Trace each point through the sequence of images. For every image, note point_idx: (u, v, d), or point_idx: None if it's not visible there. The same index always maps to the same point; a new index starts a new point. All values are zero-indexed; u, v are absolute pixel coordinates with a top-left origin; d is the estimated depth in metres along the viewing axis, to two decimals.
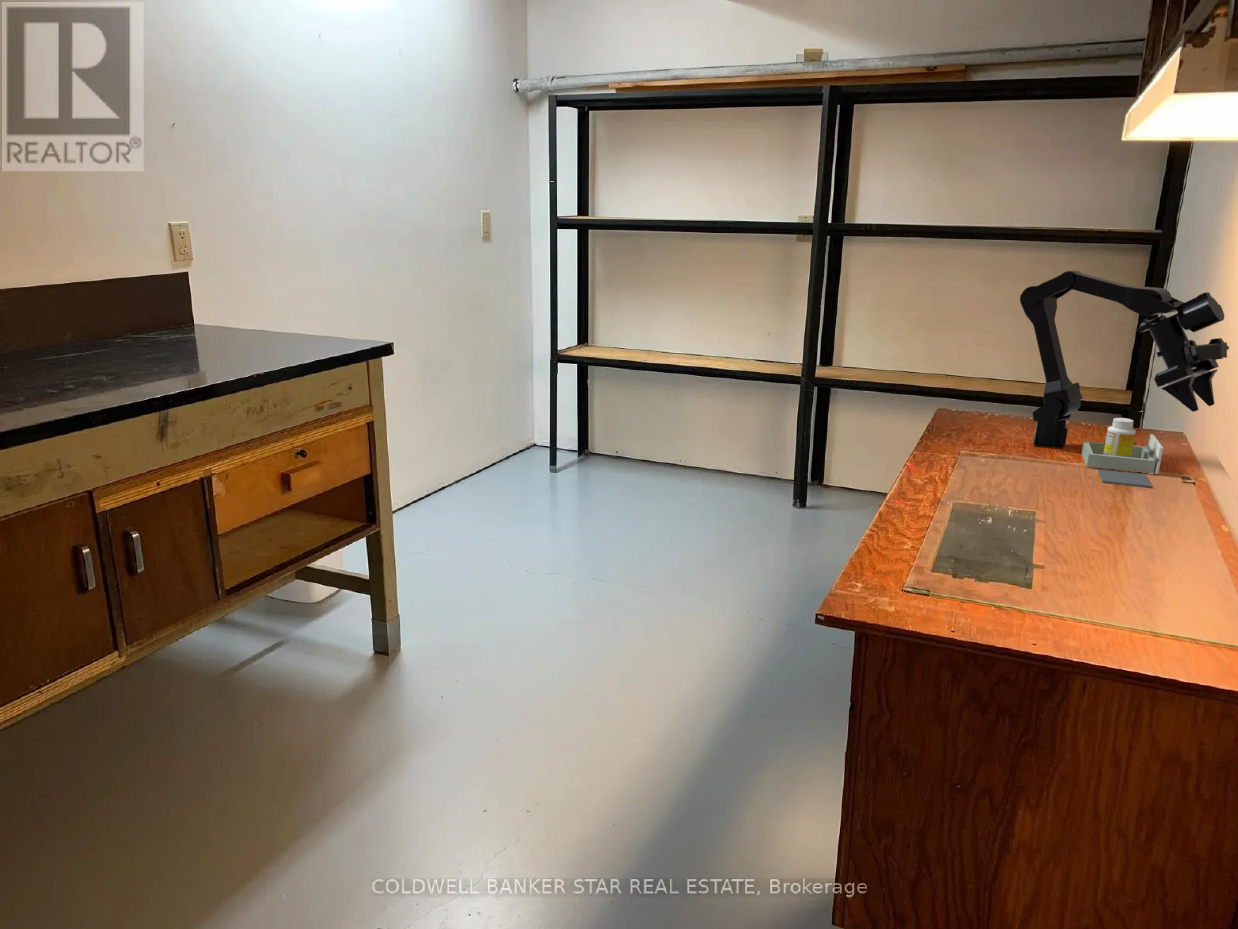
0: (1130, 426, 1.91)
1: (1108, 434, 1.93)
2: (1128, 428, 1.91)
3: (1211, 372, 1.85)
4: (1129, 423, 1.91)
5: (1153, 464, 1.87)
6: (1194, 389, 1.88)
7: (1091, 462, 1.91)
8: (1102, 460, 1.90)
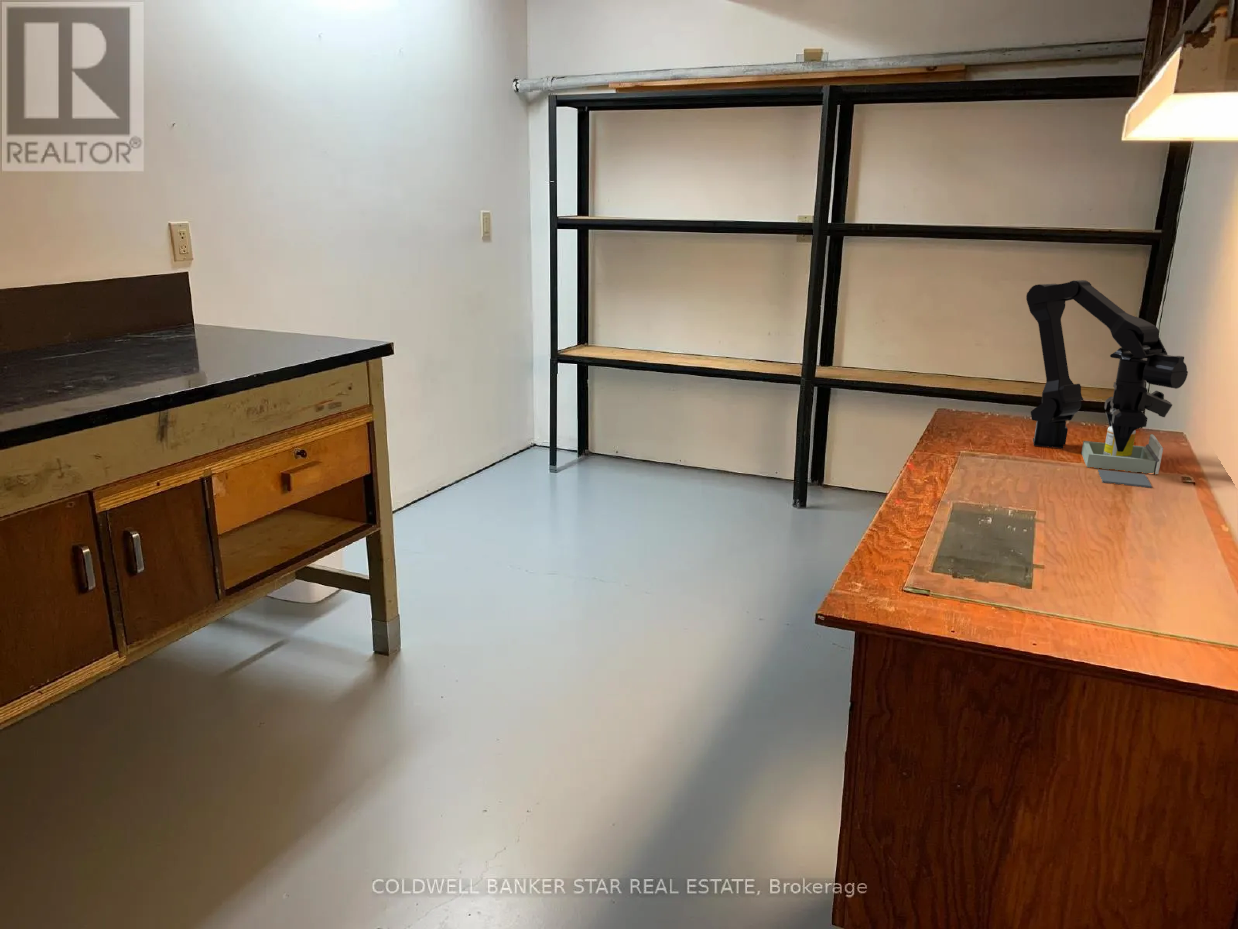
0: None
1: (1108, 434, 1.93)
2: None
3: None
4: None
5: (1153, 464, 1.87)
6: (1111, 425, 1.96)
7: (1091, 462, 1.91)
8: (1102, 460, 1.90)
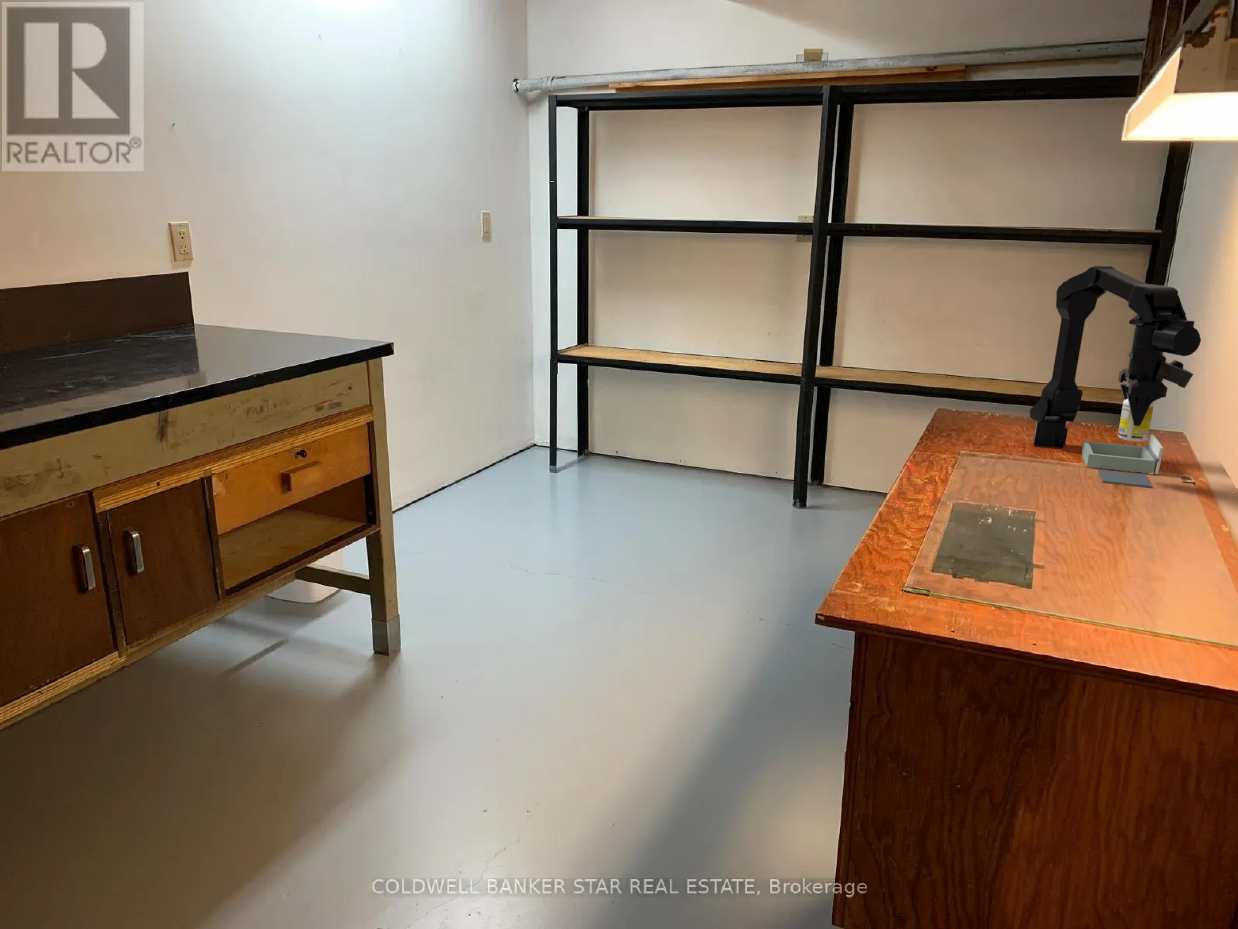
0: None
1: (1124, 407, 1.80)
2: None
3: None
4: None
5: (1153, 464, 1.87)
6: (1126, 398, 1.83)
7: (1091, 462, 1.91)
8: (1102, 460, 1.90)
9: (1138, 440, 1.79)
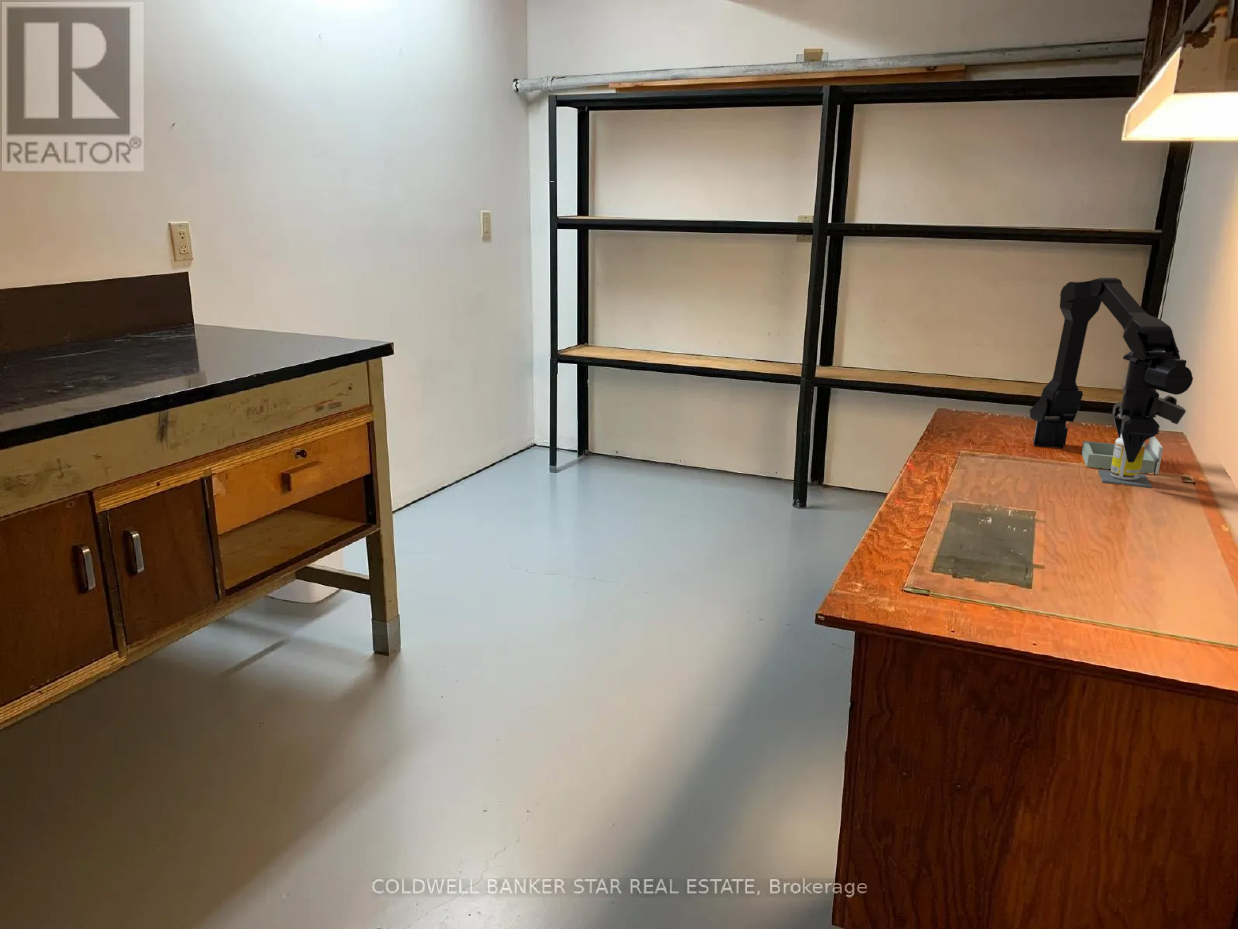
0: None
1: (1116, 446, 1.81)
2: None
3: None
4: None
5: (1153, 464, 1.87)
6: (1119, 430, 1.85)
7: (1091, 462, 1.91)
8: (1102, 460, 1.90)
9: (1130, 479, 1.81)
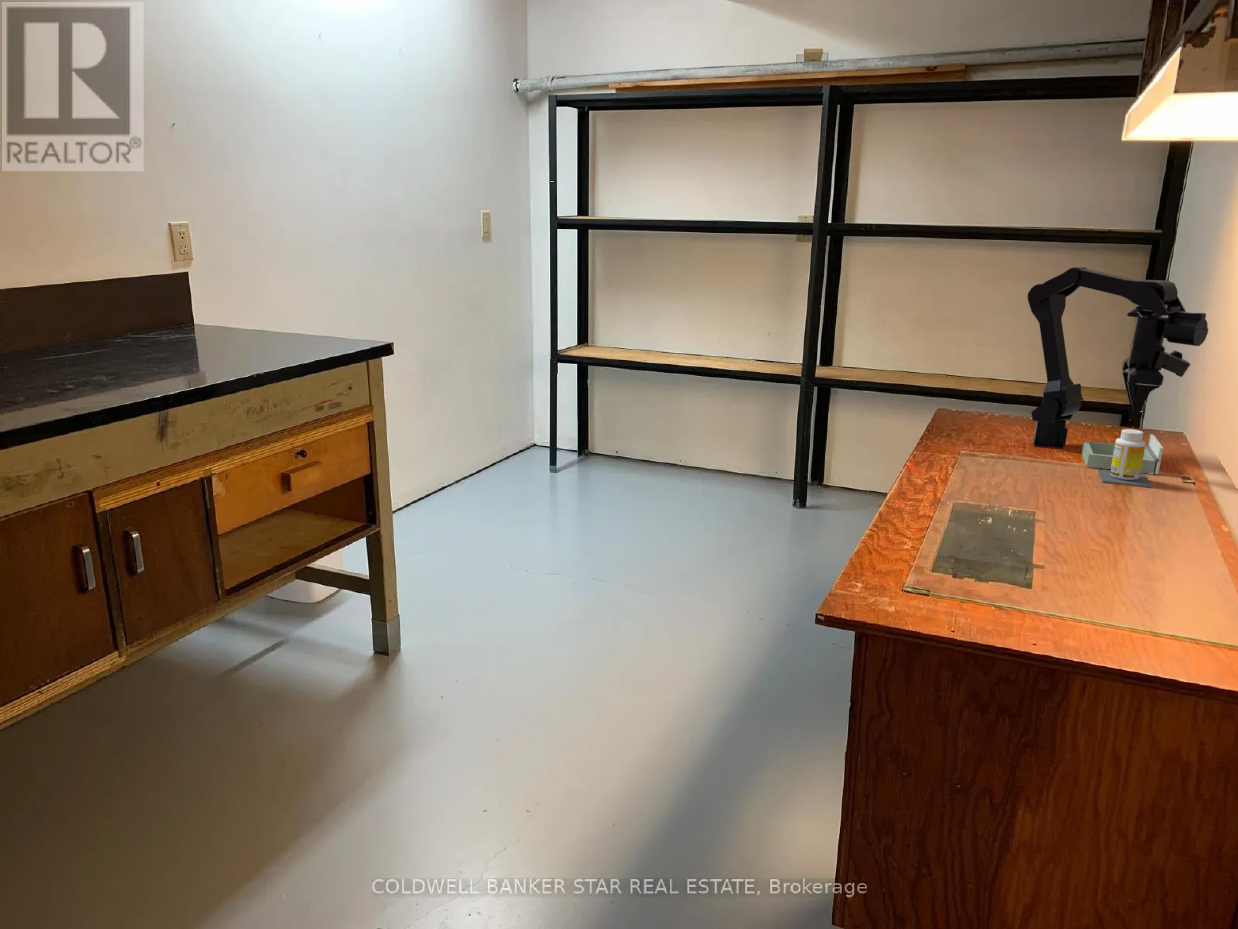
0: (1139, 438, 1.79)
1: (1116, 446, 1.81)
2: (1137, 440, 1.79)
3: None
4: (1138, 435, 1.79)
5: (1153, 464, 1.87)
6: (1127, 384, 1.95)
7: (1091, 462, 1.91)
8: (1102, 460, 1.90)
9: (1130, 479, 1.81)
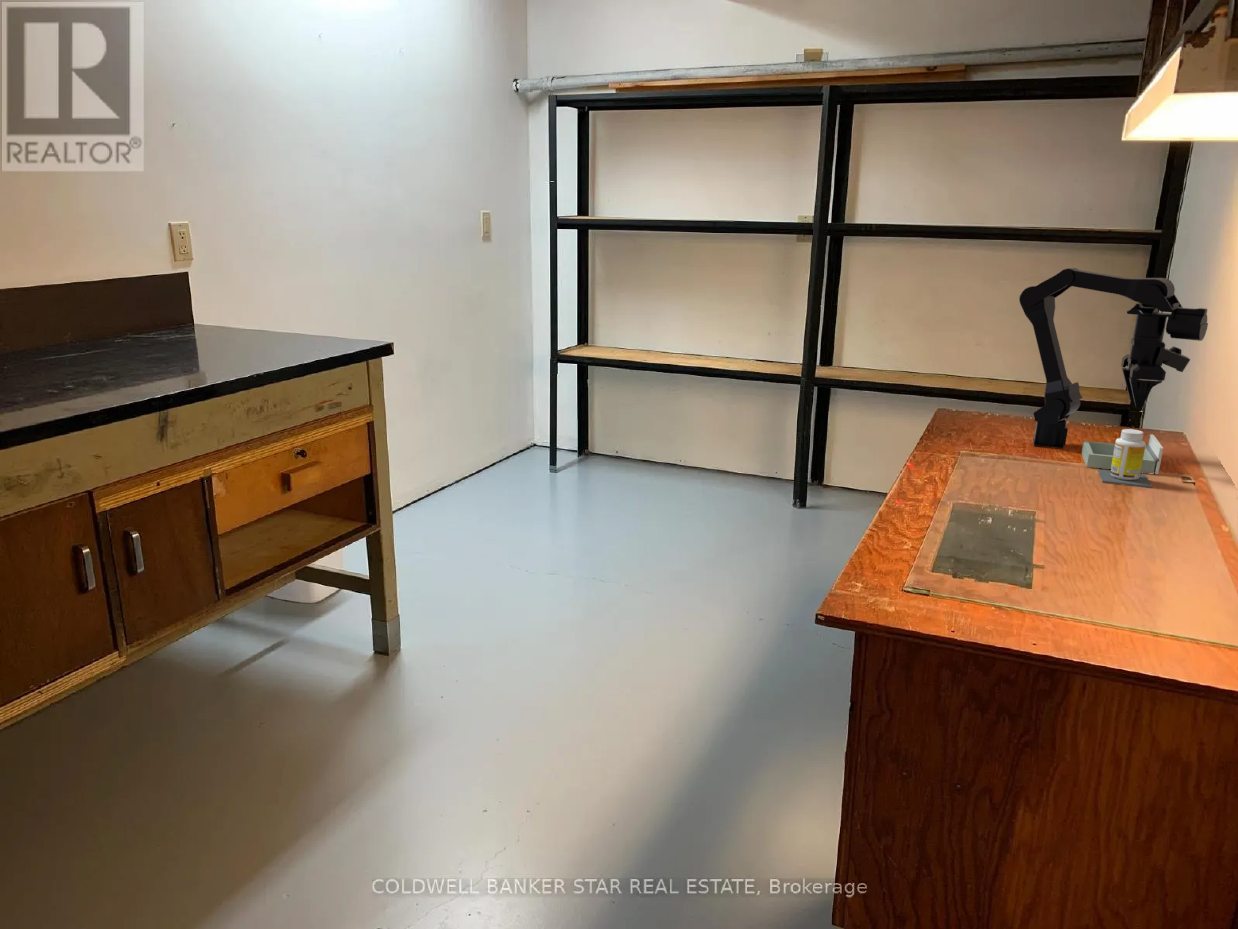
0: (1140, 438, 1.79)
1: (1116, 446, 1.81)
2: (1137, 440, 1.79)
3: None
4: (1139, 435, 1.79)
5: (1153, 464, 1.87)
6: (1127, 380, 1.98)
7: (1091, 462, 1.91)
8: (1102, 460, 1.90)
9: (1130, 479, 1.81)
